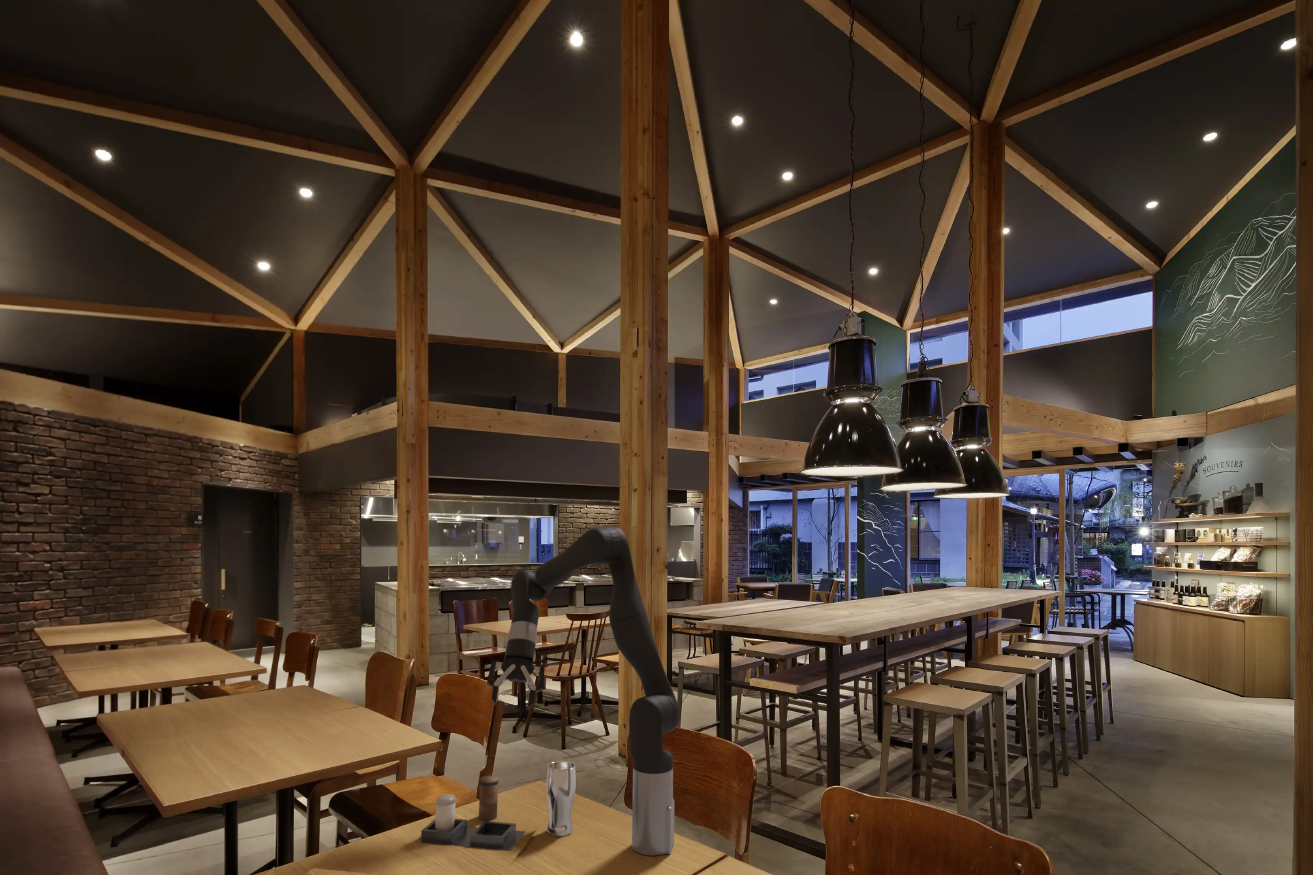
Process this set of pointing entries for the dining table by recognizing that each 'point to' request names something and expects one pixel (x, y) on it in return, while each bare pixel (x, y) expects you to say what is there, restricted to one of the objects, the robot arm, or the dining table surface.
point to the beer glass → (560, 797)
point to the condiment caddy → (474, 835)
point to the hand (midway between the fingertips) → (511, 705)
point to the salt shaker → (445, 813)
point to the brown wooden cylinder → (488, 798)
